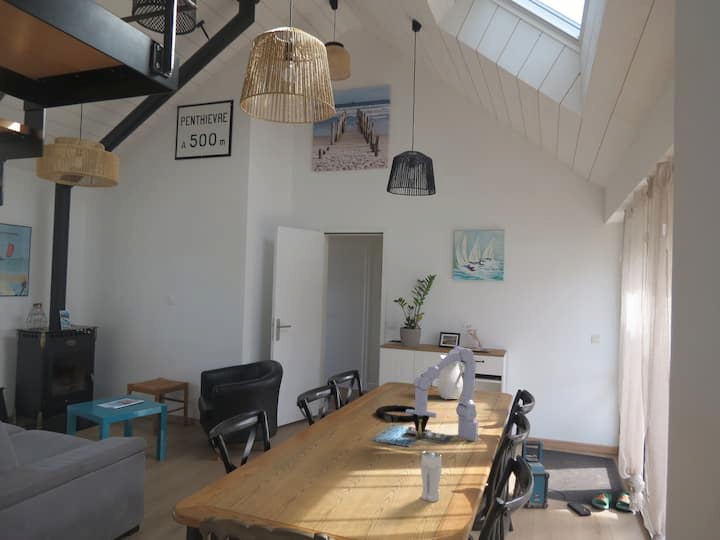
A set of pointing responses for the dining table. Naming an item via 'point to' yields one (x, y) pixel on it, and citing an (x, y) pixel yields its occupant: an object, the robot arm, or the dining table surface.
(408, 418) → the cable lock
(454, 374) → the pitcher
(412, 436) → the dark grey backing panel
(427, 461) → the beer glass
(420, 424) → the brass pin
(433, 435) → the grey metal plate
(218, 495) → the dining table surface
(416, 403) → the robot arm
